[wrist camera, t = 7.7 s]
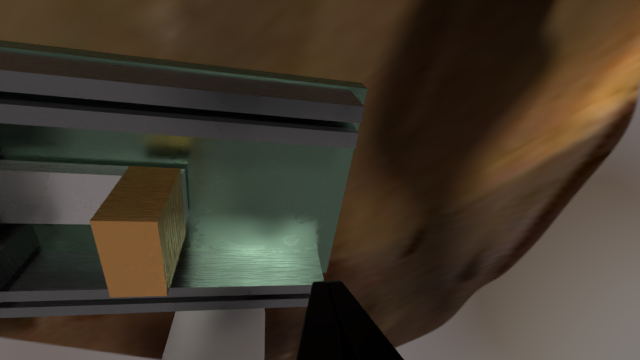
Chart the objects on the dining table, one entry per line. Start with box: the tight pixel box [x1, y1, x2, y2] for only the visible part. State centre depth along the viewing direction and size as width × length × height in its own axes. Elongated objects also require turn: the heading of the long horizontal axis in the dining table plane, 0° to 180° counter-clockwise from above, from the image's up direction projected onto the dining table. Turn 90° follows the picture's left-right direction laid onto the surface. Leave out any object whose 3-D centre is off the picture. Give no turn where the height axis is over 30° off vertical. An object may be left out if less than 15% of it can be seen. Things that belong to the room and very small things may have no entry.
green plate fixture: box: [0, 40, 367, 318], centre depth 17 cm, size 22×14×6 cm, turn 81°
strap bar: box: [0, 160, 189, 297], centre depth 15 cm, size 14×4×5 cm, turn 81°
